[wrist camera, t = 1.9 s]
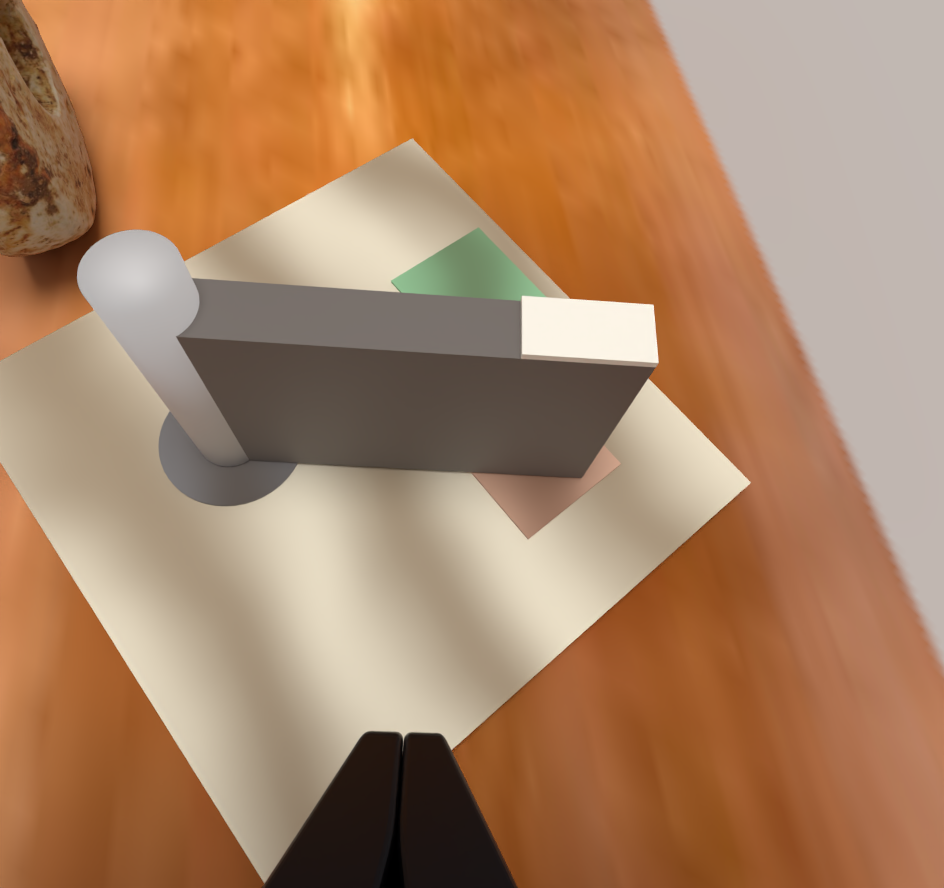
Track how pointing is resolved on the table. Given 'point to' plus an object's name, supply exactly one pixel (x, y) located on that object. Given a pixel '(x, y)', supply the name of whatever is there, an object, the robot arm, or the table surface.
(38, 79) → the stone disc
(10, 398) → the cream square board
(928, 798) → the table surface
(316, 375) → the grey upright slab
